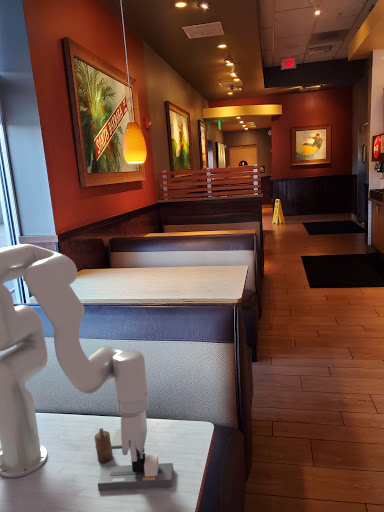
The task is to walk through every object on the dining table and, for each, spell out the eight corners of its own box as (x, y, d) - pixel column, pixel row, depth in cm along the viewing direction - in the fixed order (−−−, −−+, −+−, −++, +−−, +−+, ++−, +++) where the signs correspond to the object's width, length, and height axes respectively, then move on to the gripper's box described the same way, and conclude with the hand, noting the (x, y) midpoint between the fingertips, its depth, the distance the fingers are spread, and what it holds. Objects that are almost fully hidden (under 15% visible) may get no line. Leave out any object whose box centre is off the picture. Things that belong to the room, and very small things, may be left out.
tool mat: (110, 447, 115) (110, 446, 115) (116, 431, 123) (116, 429, 123) (142, 446, 115) (142, 444, 115) (145, 429, 123) (145, 427, 123)
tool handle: (97, 464, 108) (92, 435, 107) (98, 454, 112) (93, 426, 111) (112, 461, 109) (108, 432, 107) (113, 452, 113) (108, 423, 111)
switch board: (98, 490, 99) (97, 483, 99) (104, 473, 105) (103, 466, 104) (171, 486, 98) (171, 479, 98) (173, 469, 104) (172, 462, 104)
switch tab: (145, 476, 99) (143, 465, 99) (147, 465, 103) (146, 454, 103) (157, 475, 99) (156, 464, 99) (158, 464, 103) (157, 454, 102)
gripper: (123, 388, 106) (129, 451, 109) (110, 420, 91) (118, 493, 94) (151, 386, 105) (157, 450, 108) (144, 418, 91) (151, 491, 94)
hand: (139, 469), depth 101 cm, fingers closed
